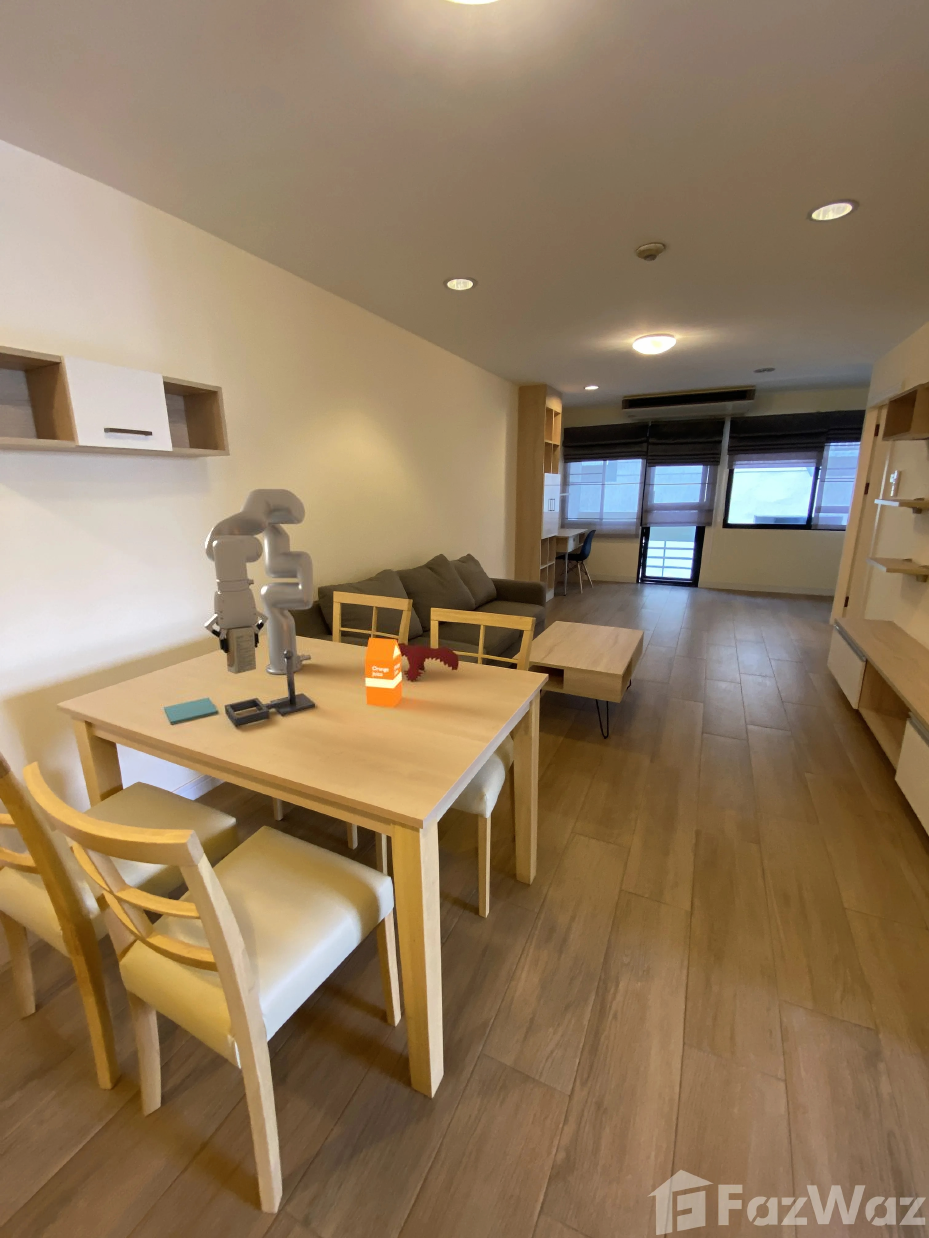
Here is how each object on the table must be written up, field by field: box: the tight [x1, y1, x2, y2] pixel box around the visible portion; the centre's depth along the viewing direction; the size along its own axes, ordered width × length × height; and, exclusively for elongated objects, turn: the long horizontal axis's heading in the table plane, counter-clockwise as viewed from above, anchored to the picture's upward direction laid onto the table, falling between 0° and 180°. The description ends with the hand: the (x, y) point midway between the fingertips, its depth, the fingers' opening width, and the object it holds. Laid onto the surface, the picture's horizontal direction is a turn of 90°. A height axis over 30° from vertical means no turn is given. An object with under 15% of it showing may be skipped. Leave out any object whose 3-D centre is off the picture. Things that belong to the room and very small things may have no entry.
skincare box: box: [225, 626, 257, 675], centre depth 137 cm, size 6×4×12 cm
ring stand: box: [224, 650, 316, 728], centre depth 144 cm, size 22×11×18 cm, turn 128°
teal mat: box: [163, 696, 219, 725], centre depth 146 cm, size 12×12×1 cm
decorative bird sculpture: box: [397, 642, 460, 682], centre depth 175 cm, size 28×9×15 cm
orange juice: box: [364, 637, 403, 708], centre depth 152 cm, size 8×9×20 cm
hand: (240, 648), depth 138 cm, fingers closed on skincare box, 7 cm apart
